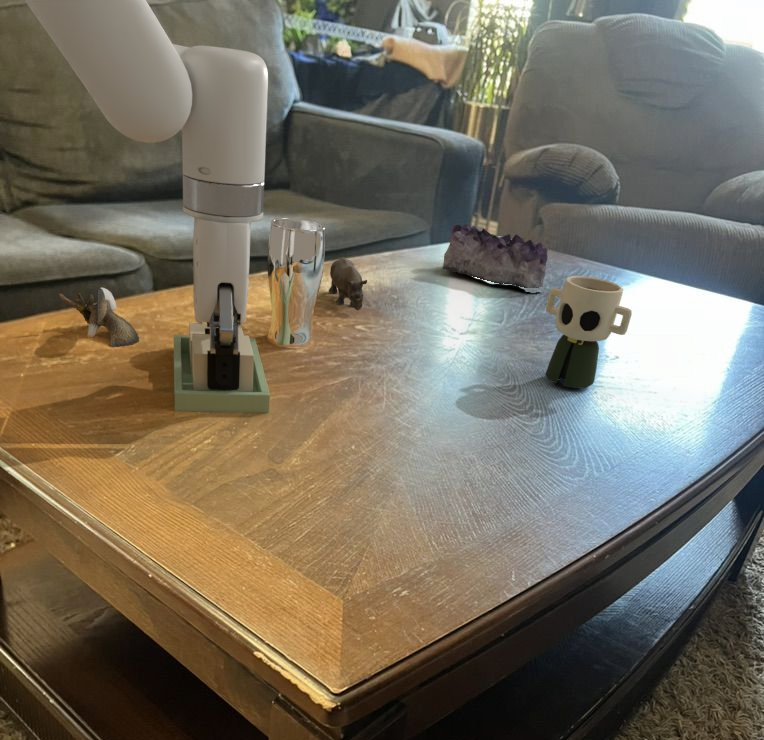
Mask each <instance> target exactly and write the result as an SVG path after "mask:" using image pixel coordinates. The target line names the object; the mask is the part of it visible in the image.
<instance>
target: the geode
mask: <svg viewBox="0 0 764 740" xmlns="http://www.w3.org/2000/svg"><path fill="white" fill-rule="evenodd" d="M448 240H449V245H448V247H447V249H446V251H445V253H444V254H443V262H442V263H443V264H442V269H443V270H444V271H448V272H451V273H452V272H453V273H456V272H458V273H457V274H461V275H466V274H467V275H466V276H468V275H469V277H471V276H473V277H477V278H480V279H483V280H487V281H491V282H494V283H499V284H503V283H504V284H512V285H516V286H520V287H524V288H539V287H543V288H544V279H545V277H546V275H547V274H546V269H547V262H548V257H549V256H548V252H549V251H548V248H546V247H543V244H542V243H541V242H539V243H537V244H535V243H534V242H533V241H532V239H528V240H527V241H526V240H525V238H523V237H522V236H520V235H519V234H517V233H516V234H514V236H513V237H512V238H511V234H510V233H509V234H505V235H503V236H498V235H496V234H494V233H490V232H489V231H488V230H487V229H485V228H482V229H481V230H480V229H479V228H477V227H476V226H474V225H472V226H470V227H469V225H468V223H467V224H466V223H465V224H463V225H460V224H456V225H453V226H452V229H451V232H450V235H449V237H448Z"/></svg>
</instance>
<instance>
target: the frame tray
mask: <svg viewBox="0 0 764 740" xmlns="http://www.w3.org/2000/svg"><path fill="white" fill-rule="evenodd" d="M249 339H250V343H251V347H252V351H253V355H254V361H253V390H252V391H204V390H194V386H193V374H191V372H190V355H189V335H183V334H173V389H174V390H173V392H174V393H173V394H174V395H173V396H174V399H173V400H174V412H176V413H178V412H179V413H180V412H182V413H229V414H230V413H233V414H234V413H237V414H238V413H239V414H240V413H241V414H270V404H271V403H270V402H271V394H270V390H269V385H268V382H267V380H266V373H265V371H264V367H263V363H262V359H261V356H260V355H261V354H260V353H259V348H258V345H257V340H256V338H255V337H249Z"/></svg>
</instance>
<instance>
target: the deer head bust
mask: <svg viewBox="0 0 764 740" xmlns="http://www.w3.org/2000/svg"><path fill="white" fill-rule="evenodd" d="M58 297H59V298H60V299H61V301H63V303H65V304H66V305H68V306H70V307H73V308H74V309H75V310H76V311H78V312H79V313H80V314H81V315H82V317H83V319H84V321H85V322H86V324H87V325H88V327H87V333H86V338H87V339H91V338H93V337H95V335H96V333H97V331H98V329H99V328H101V327H105V328H106V329H107V331H108V334H109V337H110V338H109V339H110V341H109V342H110V346H111V348H120V347H122V348H123V347H129V346H134V344H135V345H136V344H137V343H139V342H140V337H139V334H138V332H137V331H136V329H135V327H133V326H132V324H131V323H130V322H129V321H127V320H126V319H125V318H123V317H122V316H120V315H119V314H118V313H116V312H115V311H116V310H117V303H116V300H115V297H114V296H113V293H112V292H111V291H110V290H109V289H108V288H105V287H100V288H98V289H97V298H96V303H95V299H94V296H93V295H92V294H89V299H88V302H87V303H86V304H85V301H84V298H83V297H82V294H81V293H80V292H79V293H77V294H76V295H75V302H74V301H73V300H71V299H69V298H67V297H66V296H65V295H64V294H63V293H58Z"/></svg>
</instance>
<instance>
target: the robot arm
mask: <svg viewBox="0 0 764 740" xmlns="http://www.w3.org/2000/svg"><path fill="white" fill-rule="evenodd" d="M23 1H24V2H25V4H26V5H27V7H29V9H30V10H31V12H32V13H33V15H34V16H35V18H36V19H37V20H38V22H39V23H40V25H41V26H42V28H43V29H44V30H45V31H46V33H47V34H48V36H49V37H50V39H51V40H52V41H53V43H54V44H55V46H56V47H57V49H58V51H59V52H60V53H61V54H62V56H63V57H64V59H65V60H66V62H67V63H68V65H69V66H70V67H71V69H72V70H73V72H74V73H75V75H76V76H77V77H78V79H79V81H80V82H81V83H82V85H83V86H84V88H85V90H86V91H87V92H88V94H89V95H90V96H91V98H92V99H93V101H94V103H95V105H96V106H97V107H98V109H99V110H100V112H101V113H102V115H103V116H104V118H105V120H107V122H108V123H109V124H110V125H111V126H112V127H113V128H114V129H115V130H116V131H117V132H119V133H120V134H122V135H123V136H125V137H127V138H129V139H131V140H133V141H136V142H140V143H147V144H153V143H161V142H164V141H167V140H170V139H171V138H173V137H174V136H176V135H177V134H178V133H179V132H180V131H181V149H182V151H181V152H182V158H181V159H182V161H181V162H182V212H183V213H184V214H186V215H187V216H189V217H192V218H194V219H193V232H192V233H193V234H192V235H193V237H192V264H193V265H192V273H193V274H192V279H193V280H192V281H193V282H192V283H193V284H192V287H193V291H192V292H193V300H192V301H193V314H194V320H195V322H196V323H199V324H202V323H206V324H207V327H210V328H205V334H210V351H207V386H208V388H209V389H211V390H237V389H238V388H239V374H240V352H238V327H239V326H243V325H244V324H245V323H246V321H247V309H248V297H249V281H250V280H249V279H250V259H251V257H250V255H251V225H252V223H255V222H260V221H261V220H263V218H264V204H265V203H264V202H265V201H264V200H265V175H266V174H265V172H266V149H267V148H266V147H267V146H266V144H267V121H268V118H267V117H268V91H269V72H268V67H267V64H266V62H265V60H264V59H263V58H262V57H261V56H260V55H258V54H256V53H254V52H251V51H247V50H242V49H236V48H228V47H221V46H211V45H194V46H185V45H180V44H175V43H173V42H172V41H171V40H170V38H169V36H168V35H167V33H166V30H164V28H163V26H162V24H161V22H160V21H159V20H158V17H157V16H156V15H155V13H154V11H153V9H152V7H151V6H150V5H149V3H148V1H147V0H23Z"/></svg>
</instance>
